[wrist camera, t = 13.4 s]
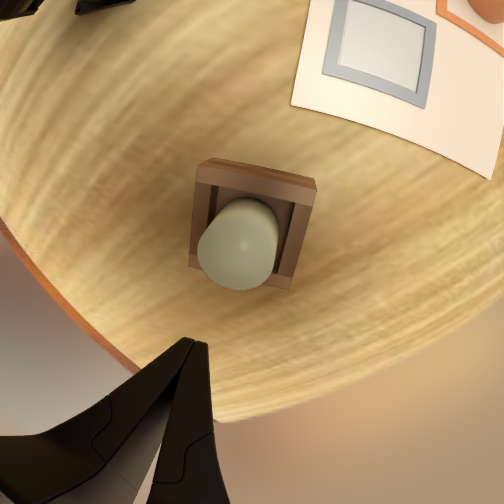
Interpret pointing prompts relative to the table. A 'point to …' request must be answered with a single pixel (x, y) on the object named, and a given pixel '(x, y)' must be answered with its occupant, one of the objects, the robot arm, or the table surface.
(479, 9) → the marker
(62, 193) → the table surface
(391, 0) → the picture sheet
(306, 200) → the button base
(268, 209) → the button
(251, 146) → the table surface
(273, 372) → the table surface
